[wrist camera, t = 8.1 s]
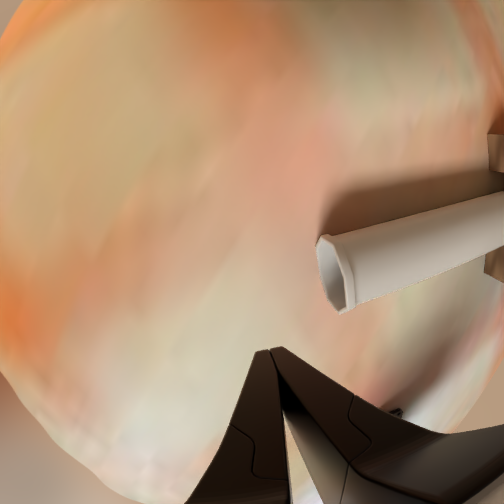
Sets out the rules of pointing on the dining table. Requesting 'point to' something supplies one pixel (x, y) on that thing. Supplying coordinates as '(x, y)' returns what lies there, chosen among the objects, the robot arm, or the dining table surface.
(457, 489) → the robot arm
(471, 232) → the tube
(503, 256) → the socket
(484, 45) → the dining table surface
